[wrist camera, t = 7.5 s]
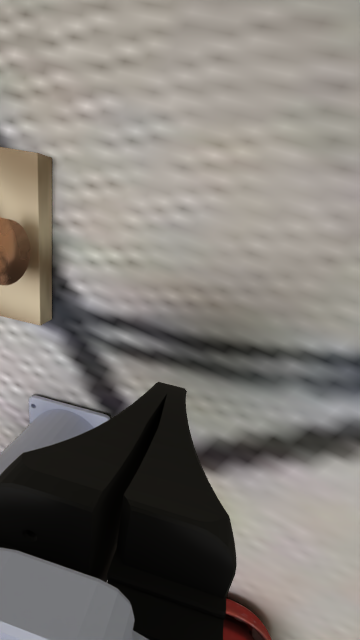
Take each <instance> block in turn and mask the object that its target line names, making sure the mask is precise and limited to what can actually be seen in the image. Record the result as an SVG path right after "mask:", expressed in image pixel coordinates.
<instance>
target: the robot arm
mask: <svg viewBox="0 0 360 640" xmlns="http://www.w3.org/2000/svg"><path fill="white" fill-rule="evenodd" d="M186 392H187V391H186V390H185V389H184V388H180V387H177V386H173V385H169V384H165V383H161V382H158V383H156V384H155V385H154V386H153V387H152V388H151V389H150V390H149V391H148V392H146V393H145V394H144V395H143V396H142V397H140V398H139V399H138V400H137V401H135V402H134V403H133V404H132V405H130V406H129V407H128V408H126V409H125V410H123V411H122V412H120V413H119V414H118V415H116V416H114V417H113V418H111V419H110V417H109V416H108V415H106V414H103V413H99V412H95V411H92V410H88V409H84V408H81V407H77V406H73V405H70V404H66V403H62V402H59V401H55V400H51V399H48V398H44V397H40V396H37V395H32V396H31V397H30V398H29V420H30V425H29V426H28V427H27V428H26V429H25V430H24V431H23V432H22V433H21V434H20V435H19V436H18V437H17V438H16V439H15V440H14V441H13V442H12V443H11V444H10V445H9V446H8V447H7V448H6V449H5V450H4V451H3V452H2V453H1V454H0V640H223V623H224V619H225V616H226V596H227V594H228V591H229V588H230V586H231V583H232V581H233V578H234V576H235V571H236V551H235V543H234V537H233V532H232V527H231V522H230V518H229V515H228V514H227V512H226V511H225V509H224V508H223V506H222V505H221V503H220V501H219V500H218V498H217V496H216V494H215V493H214V491H213V489H212V487H211V485H210V483H209V481H208V479H207V477H206V475H205V473H204V471H203V468H202V466H201V464H200V461H199V459H198V456H197V454H196V451H195V448H194V445H193V441H192V438H191V434H190V430H189V425H188V420H187V413H186ZM34 404H35V405H34ZM107 580H108V581H107Z"/></svg>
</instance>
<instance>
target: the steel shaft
mask: <svg viewBox="0 0 360 640" xmlns="http://www.w3.org/2000/svg"><path fill="white" fill-rule="evenodd" d="M30 251H31V250H30V242H29V238H28V236H27V233H26V231H25V230H24V228H23V227H22V226H21V225H20V224H19V223H17V222H16V221H14V220H10V219H5V218H0V285H11V284H13V283H15V282H17V281H18V280H19V279H20V278H21V277H22V276H23V275H24V273H25V271H26V269H27V267H28V264H29V261H30Z"/></svg>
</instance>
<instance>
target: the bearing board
mask: <svg viewBox="0 0 360 640" xmlns="http://www.w3.org/2000/svg"><path fill="white" fill-rule="evenodd" d="M0 218H5V219H10V220H14V221H16V222H17V223H19V224H20V225H21V226H22V227H23V228H24V230H25V231H26V233H27V236H28V238H29V242H30V250H31V251H30V261H29V264H28V267H27V269H26V271H25V273H24V275H23V276H22V277H21V278H20V279H19V280H18V281H17V282H15V283H13V284H11V285H0V316H3V317H7V318H12V319H16V320H20V321H24V322H28V323H32V324H37V325H42V324H44V323H46V322H48V321H50V320H51V319H52V158H51V157H48V156H45V155H42V154H39V153H34V152H28V151H22V150H15V149H9V148H3V147H0Z"/></svg>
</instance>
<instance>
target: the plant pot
mask: <svg viewBox="0 0 360 640" xmlns="http://www.w3.org/2000/svg"><path fill="white" fill-rule="evenodd" d="M223 640H271V637H270V635H269V633H268V631H267V629H266V628H265V626H264V625H263V623H262V622H261V621H260V620H259V618H258V617H257V616H256V615H255V614H254V613H252V612H251V611H250V610H249V609H247V608H246V607H244V606H242V605H241V604H239V603H237V602H235V601H232V600H229V599H226V616H225V619H224V623H223Z"/></svg>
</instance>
